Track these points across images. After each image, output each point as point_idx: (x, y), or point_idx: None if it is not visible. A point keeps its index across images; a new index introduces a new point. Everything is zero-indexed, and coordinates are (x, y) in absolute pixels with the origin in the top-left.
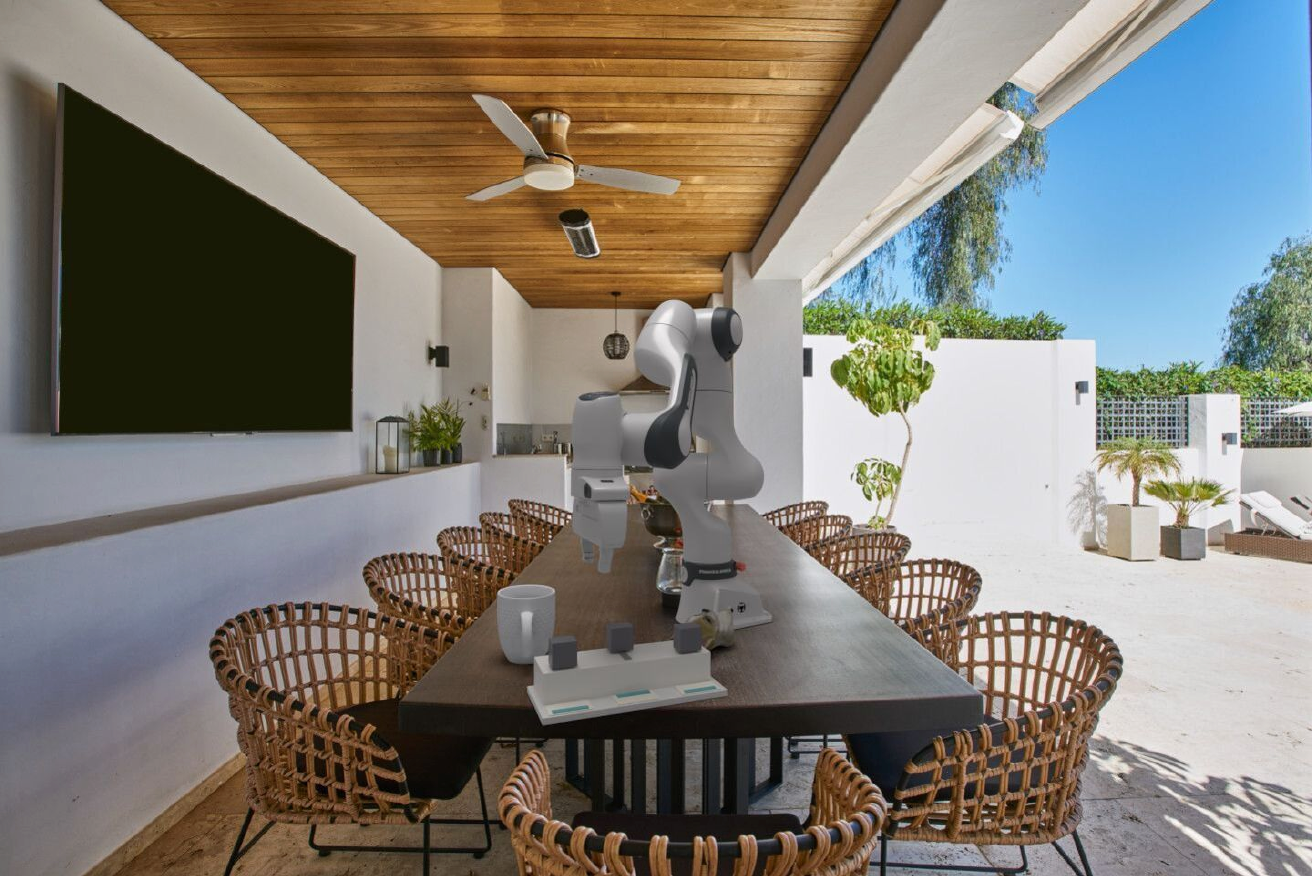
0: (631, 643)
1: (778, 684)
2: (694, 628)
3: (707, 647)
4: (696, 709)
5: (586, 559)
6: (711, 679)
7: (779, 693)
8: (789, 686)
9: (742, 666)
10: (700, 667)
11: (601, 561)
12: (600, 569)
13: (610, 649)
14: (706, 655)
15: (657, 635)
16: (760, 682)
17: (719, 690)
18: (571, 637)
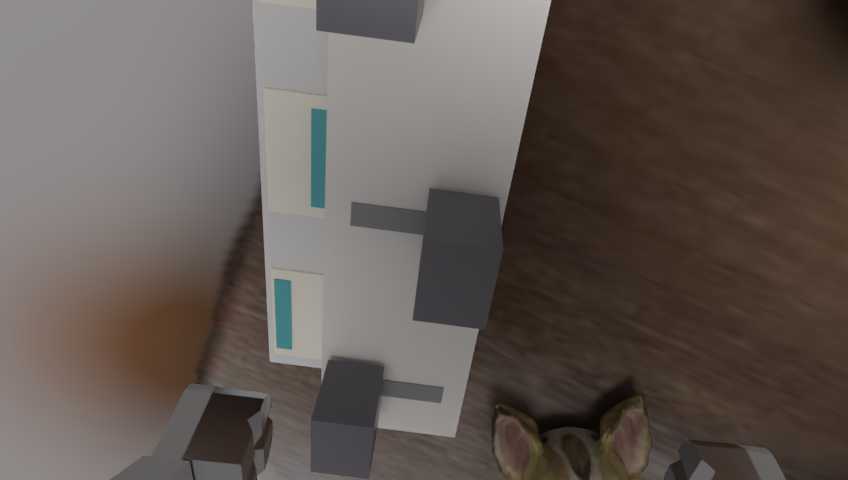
0: (418, 271)
1: (295, 451)
2: (312, 452)
3: (492, 449)
4: (224, 262)
5: (696, 470)
6: None
7: None
8: (277, 459)
9: (420, 453)
10: None
11: (130, 471)
12: (179, 403)
13: (439, 193)
14: None
15: (753, 419)
16: None
17: (271, 347)
18: (382, 24)
